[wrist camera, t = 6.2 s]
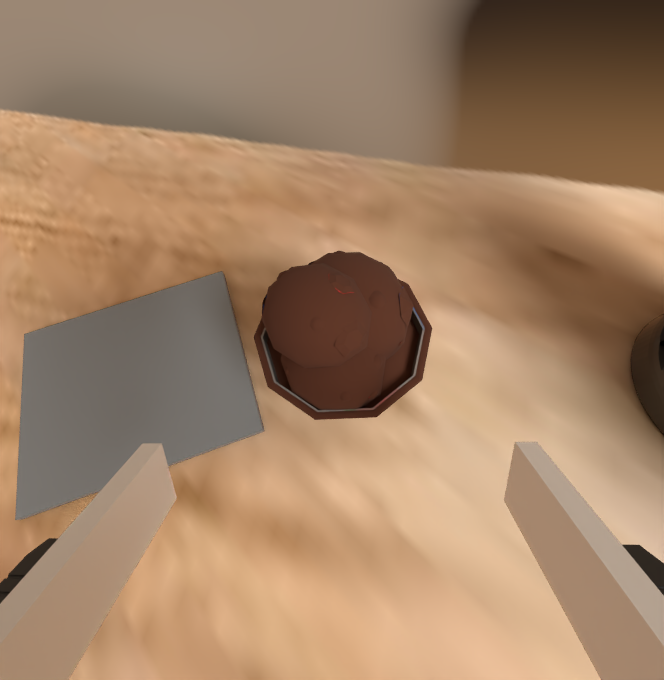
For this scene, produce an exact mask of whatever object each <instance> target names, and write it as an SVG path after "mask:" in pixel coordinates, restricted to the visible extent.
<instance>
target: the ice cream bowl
mask: <svg viewBox="0 0 664 680" xmlns="http://www.w3.org/2000/svg"><path fill="white" fill-rule="evenodd" d="M431 331H432V327H431V325H430V323H429V321H428V320H427V318H426V316H425V314H424V312H423V310H422V309H421V307H420V305H419V303H418V301H417V299H416V297H415V296H414V294H413V292H412V290H411V288H410V286H409V285H408V284H407V283H405V282H403V281H401V280H399V279H397V277H396V276H395V274H394V272H393V271H392V270H391V269H390V268H389V267H388V266H386V265H384V264H383V263H382V262H378V261H376V260H374V259H372V258H370V257H368V256H366V255H364V254H362V253H360V252H351V253H345V252H343V251H337V252H334V253H328V254H326V255H324V256H323V257H321V258H320V259H318V260H316V261H313V262H311V263H309V264H308V265H305V266H297V267H291V268H290V269H289V270H288V271H284V272H282V273H280V274H279V276H278V278H277V281H275V282H274V283H273V284H272V285H271V286H270V287H269V288H268V292H267V295H266V297H265V298H264V300H263V305H262V319H261V321H260V324H259V326H258V329H257V331H256V333H255V336H254V340H255V343H256V347H257V350H258V354H259V357H260V361H261V364H262V368H263V371H264V375H265V378H266V382H267V385H268V387H269V388H270V389H272V390H273V391H275V392H276V393H278V394H279V395H280V396H282V397H283V398H285V399H286V400H288V401H289V402H290V403H292V404H293V405H295V406H296V407H298V408H299V409H301V410H302V411H303V412H305V413H306V414H308V415H309V416H311V417H312V418H314V419H315V420H318V419H343V418H368V417H377V416H379V415H380V414H381V413H382V412H383V411H385V410H386V409H387V408H388V407H390V406H391V405H392V404H393V403H394V402H396V401H397V400H398V399H399V398H401V397H402V396H403V395H404V394H405V393H407V392H408V391H409V390H410V389H412V388H413V387H414V386H415V385H416V384H418V383H419V382H420V381H421V380H422V378H423V373H424V367H425V362H426V357H427V352H428V347H429V342H430V336H431Z"/></svg>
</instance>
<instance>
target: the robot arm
mask: <svg viewBox="0 0 664 680" xmlns="http://www.w3.org/2000/svg"><path fill="white" fill-rule="evenodd" d="M631 370H632V377H633V381H634V385H635V388H636V391H637V393H638V396H639V398H640V400H641V402H642V404H643V406H644V408H645V410H646V411H647V413H648V414H649V416H650V417H651V419H652V420H653V422H654V423H655V424H656V426H657V427H658V428H659V429H660V430H661V432H662V433H663V434H664V314H663V315H661V316H659V317H657V318H656V319H654V320H653V321H651V322H650V323H649V324H647V325H646V326H645V327H644V329H643V330H642V331H641V332H640V334H639V335H638V337H637V339H636V341H635V344H634V347H633V351H632V357H631ZM176 499H177V497H176V493H175V490H174V486H173V482H172V479H171V475H170V471H169V468H168V464H167V460H166V457H165V453H164V449H163V446H162V443H142V445H141V446H140V447H139V448H138V449H137V450H136V451H135V452H134V454H133V455H132V456H131V457H130V458H129V459H128V460H127V462H126V463H125V464H124V465H123V466H122V467H121V468H120V469H119V471H118V472H117V473H116V474H115V475H114V476H113V477H112V478H111V480H110V481H109V482H108V483H107V484H106V485H105V486H104V487H103V489H102V490H101V491H100V492H99V493H98V494H97V495H96V496H95V498H94V499H93V500H92V501H91V502H90V503H89V504H88V505H87V507H86V508H85V509H84V510H83V511H82V512H81V513H80V514H79V516H78V517H77V518H76V519H75V520H74V521H73V522H72V523H71V525H70V526H69V527H68V528H67V529H66V530H65V531H64V533H63V534H62V535H61V536H60V537H59V538H58V539H52V538H49V539H48V540H46V541H45V542H44V543H42V544H41V545H40V546H38V547H37V548H36V549H34V550H33V551H32V552H30V553H29V554H27V555H26V556H25V557H24V559H23V560H22V561H21V562H20V563H19V564H18V565H17V566H16V567H15V568H14V569H13V570H12V571H11V572H10V573H9V575H8V578H7V579H4V580H3V581H2V582H1V583H0V680H69V678H70V676H71V675H72V673H73V671H74V670H75V668H76V666H77V665H78V663H79V661H80V660H81V658H82V656H83V655H84V653H85V651H86V650H87V648H88V646H89V645H90V643H91V641H92V640H93V638H94V636H95V634H96V633H97V631H98V629H99V628H100V626H101V624H102V623H103V621H104V619H105V618H106V616H107V614H108V613H109V611H110V609H111V608H112V606H113V604H114V603H115V601H116V599H117V598H118V596H119V594H120V593H121V591H122V589H123V588H124V586H125V584H126V583H127V581H128V579H129V578H130V576H131V574H132V573H133V571H134V569H135V568H136V566H137V564H138V563H139V561H140V559H141V557H142V556H143V554H144V552H145V551H146V549H147V547H148V546H149V544H150V542H151V541H152V539H153V537H154V536H155V534H156V532H157V531H158V529H159V527H160V526H161V524H162V522H163V521H164V519H165V517H166V516H167V514H168V512H169V511H170V509H171V507H172V506H173V504H174V502H175V501H176ZM504 501H505V503H506V505H507V507H508V509H509V510H510V512H511V514H512V516H513V518H514V520H515V521H516V523H517V525H518V527H519V529H520V531H521V532H522V534H523V536H524V538H525V540H526V542H527V544H528V545H529V547H530V549H531V551H532V553H533V555H534V556H535V558H536V560H537V562H538V564H539V566H540V568H541V569H542V571H543V573H544V575H545V577H546V579H547V580H548V582H549V584H550V586H551V588H552V590H553V592H554V593H555V595H556V597H557V599H558V601H559V603H560V604H561V606H562V608H563V610H564V612H565V614H566V616H567V617H568V619H569V621H570V623H571V625H572V627H573V628H574V630H575V632H576V634H577V636H578V638H579V640H580V641H581V643H582V645H583V647H584V649H585V651H586V652H587V654H588V656H589V658H590V660H591V662H592V663H593V665H594V667H595V669H596V671H597V673H598V675H599V676H600V678H601V680H664V563H662V562H661V561H660V560H658V559H657V558H656V557H654V556H653V555H652V554H650V553H649V552H648V551H646V550H645V549H644V548H643V547H641V546H640V545H622V544H621V543H620V542H619V541H618V540H617V538H616V537H615V536H614V535H613V533H612V532H611V531H610V530H609V529H608V527H607V526H606V525H605V524H604V523H603V521H602V520H601V519H600V518H599V516H598V515H597V514H596V513H595V512H594V510H593V509H592V508H591V507H590V506H589V504H588V503H587V502H586V501H585V499H584V498H583V497H582V496H581V495H580V493H579V492H578V491H577V490H576V489H575V487H574V486H573V485H572V484H571V482H570V481H569V480H568V479H567V478H566V476H565V475H564V474H563V473H562V472H561V470H560V469H559V468H558V467H557V465H556V464H555V463H554V462H553V461H552V459H551V458H550V457H549V456H548V455H547V453H546V452H545V451H544V450H543V448H542V447H541V446H540V445H539V444H538V442H515V445H514V451H513V456H512V461H511V466H510V471H509V477H508V482H507V487H506V492H505V497H504Z"/></svg>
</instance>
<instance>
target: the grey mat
mask: <svg viewBox="0 0 664 680" xmlns="http://www.w3.org/2000/svg"><path fill="white" fill-rule="evenodd" d="M261 432H264V427H263V423H262V420H261V416H260V412H259V408H258V404H257V400H256V396H255V392H254V389H253V385H252V381H251V377H250V373H249V369H248V365H247V361H246V358H245V354H244V350H243V346H242V342H241V338H240V334H239V330H238V327H237V323H236V319H235V315H234V311H233V307H232V303H231V299H230V296H229V292H228V288H227V284H226V280H225V276H224V274H223V272H222V271H221V272H217V273H214V274H211V275H208V276H205V277H202V278H199V279H196V280H192V281H189V282H186V283H183V284H180V285H177V286H174V287H171V288H167V289H164V290H161V291H158V292H155V293H152V294H149V295H145V296H142V297H139V298H136V299H133V300H130V301H127V302H124V303H120V304H117V305H114V306H111V307H108V308H105V309H102V310H99V311H95V312H92V313H89V314H86V315H83V316H80V317H77V318H73V319H70V320H67V321H64V322H61V323H58V324H55V325H52V326H48V327H45V328H42V329H39V330H36V331H33V332H30V333H27V334H24V354H23V374H22V395H21V415H20V436H19V456H18V477H17V497H16V517H15V520H20V519H25V518H27V517H30V516H33V515H36V514H38V513H41V512H44V511H47V510H49V509H52V508H55V507H58V506H60V505H63V504H66V503H69V502H71V501H74V500H77V499H80V498H82V497H85V496H88V495H91V494H93V493H96V492H99V491H101V490H102V489H103V487H104V486H105V485H106V484H107V483H108V482H109V481H110V480H111V478H112V477H113V476H114V475H115V474H116V473H117V472H118V471H119V469H120V468H121V467H122V466H123V465H124V464H125V463H126V462H127V460H128V459H129V458H130V457H131V456H132V455H133V454H134V452H135V451H136V450H137V449H138V448H139V447H140V446H141V445H142V443H162V446H163V449H164V453H165V457H166V460H167V464H168V466H170V465H173V464H176V463H178V462H181V461H184V460H187V459H189V458H192V457H195V456H198V455H200V454H203V453H206V452H209V451H211V450H214V449H217V448H220V447H222V446H225V445H228V444H231V443H233V442H236V441H239V440H242V439H244V438H247V437H250V436H253V435H255V434H258V433H261Z"/></svg>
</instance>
